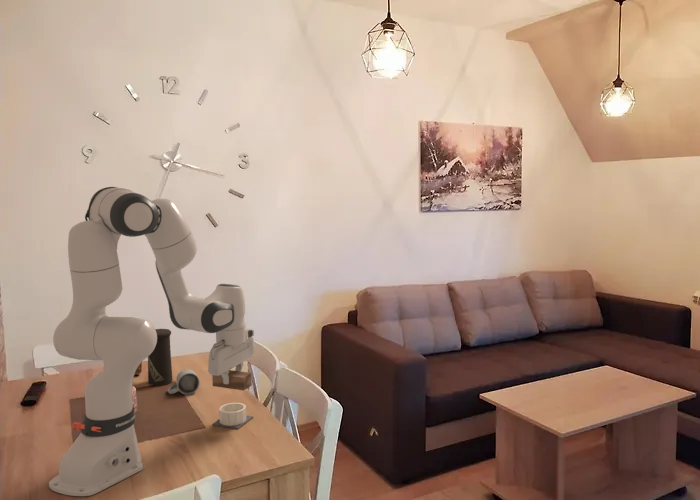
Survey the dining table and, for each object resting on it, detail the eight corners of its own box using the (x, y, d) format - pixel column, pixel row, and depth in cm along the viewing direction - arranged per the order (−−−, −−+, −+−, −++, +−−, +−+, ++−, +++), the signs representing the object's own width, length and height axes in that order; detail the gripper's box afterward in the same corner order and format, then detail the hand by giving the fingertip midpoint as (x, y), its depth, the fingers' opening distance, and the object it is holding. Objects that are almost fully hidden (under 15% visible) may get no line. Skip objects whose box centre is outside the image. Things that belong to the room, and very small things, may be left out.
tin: (123, 368, 222) (122, 348, 221) (131, 367, 224) (130, 346, 223) (135, 378, 211) (134, 356, 210) (143, 376, 213) (142, 355, 212)
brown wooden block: (244, 390, 165) (243, 377, 164) (212, 386, 169) (212, 373, 168) (251, 385, 169) (251, 372, 169) (220, 381, 173) (220, 368, 172)
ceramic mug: (196, 385, 202) (195, 365, 201) (200, 392, 194) (199, 371, 194) (166, 390, 198) (165, 369, 197) (169, 398, 190) (167, 376, 189)
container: (146, 380, 208) (144, 328, 206) (171, 377, 211) (169, 326, 209) (149, 387, 200) (146, 333, 198) (174, 384, 204) (172, 331, 202)
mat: (238, 429, 164) (238, 428, 164) (212, 425, 167) (212, 423, 167) (253, 417, 172) (253, 416, 172) (228, 414, 176) (228, 412, 175)
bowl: (237, 427, 165) (237, 414, 164) (214, 423, 167) (214, 410, 167) (251, 416, 172) (250, 404, 172) (229, 413, 175) (228, 401, 174)
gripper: (220, 346, 156) (222, 393, 158) (256, 328, 175) (258, 370, 177) (201, 344, 158) (203, 390, 160) (239, 327, 177) (240, 368, 179)
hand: (232, 380), depth 169 cm, fingers closed on brown wooden block, 4 cm apart
